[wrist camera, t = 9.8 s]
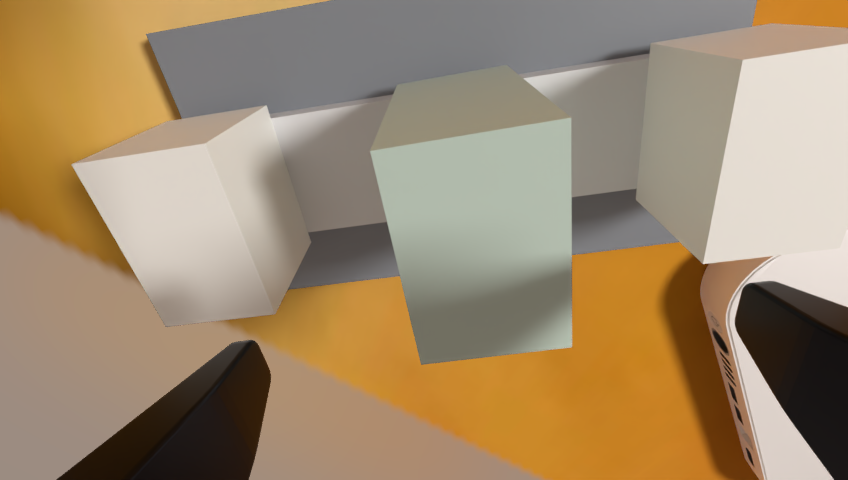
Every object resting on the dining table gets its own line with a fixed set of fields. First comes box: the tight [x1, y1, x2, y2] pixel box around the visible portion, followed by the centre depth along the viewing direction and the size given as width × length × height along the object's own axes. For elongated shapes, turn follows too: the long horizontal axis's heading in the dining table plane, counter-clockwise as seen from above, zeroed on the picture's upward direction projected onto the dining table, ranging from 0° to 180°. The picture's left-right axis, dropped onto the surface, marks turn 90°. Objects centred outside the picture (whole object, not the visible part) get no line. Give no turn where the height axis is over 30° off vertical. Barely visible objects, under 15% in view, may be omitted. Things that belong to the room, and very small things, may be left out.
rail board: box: [71, 0, 848, 327], centre depth 16 cm, size 22×12×7 cm, turn 99°
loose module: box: [370, 65, 572, 365], centre depth 13 cm, size 4×6×8 cm, turn 10°
